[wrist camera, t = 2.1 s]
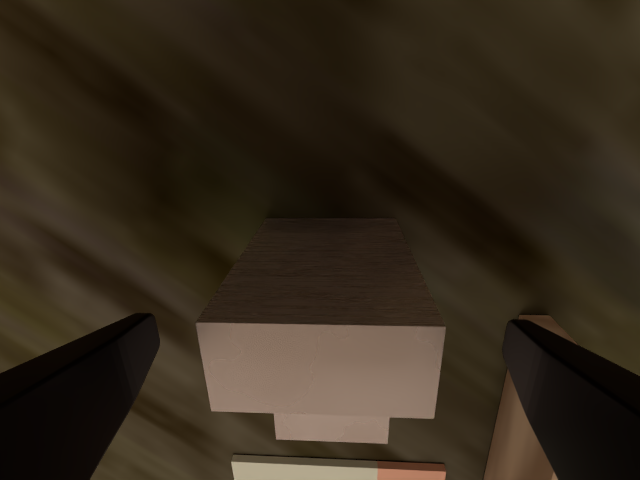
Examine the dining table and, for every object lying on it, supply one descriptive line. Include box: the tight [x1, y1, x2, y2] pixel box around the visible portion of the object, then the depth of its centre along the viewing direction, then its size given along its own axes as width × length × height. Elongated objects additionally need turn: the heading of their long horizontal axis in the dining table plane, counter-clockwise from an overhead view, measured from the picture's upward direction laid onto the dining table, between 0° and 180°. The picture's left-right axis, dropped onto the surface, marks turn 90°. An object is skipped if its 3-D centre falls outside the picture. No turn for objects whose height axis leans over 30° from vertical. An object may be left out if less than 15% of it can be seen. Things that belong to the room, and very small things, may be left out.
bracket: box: [195, 218, 446, 444], centre depth 12 cm, size 10×5×7 cm, turn 1°
